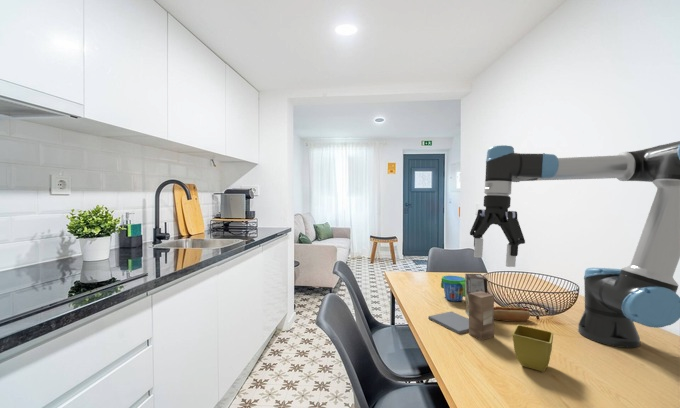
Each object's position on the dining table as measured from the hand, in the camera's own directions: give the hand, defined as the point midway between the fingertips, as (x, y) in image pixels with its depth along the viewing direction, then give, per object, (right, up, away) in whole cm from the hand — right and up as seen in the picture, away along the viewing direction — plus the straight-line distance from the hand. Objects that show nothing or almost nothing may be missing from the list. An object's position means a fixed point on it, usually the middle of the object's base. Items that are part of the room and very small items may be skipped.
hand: (493, 261), depth 93 cm
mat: (-6, -26, +16) cm, 32 cm away
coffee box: (+5, -27, +23) cm, 36 cm away
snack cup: (+5, -27, +44) cm, 52 cm away
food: (+17, -27, +20) cm, 37 cm away
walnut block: (-1, -26, +6) cm, 27 cm away
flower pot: (+5, -26, -12) cm, 30 cm away
